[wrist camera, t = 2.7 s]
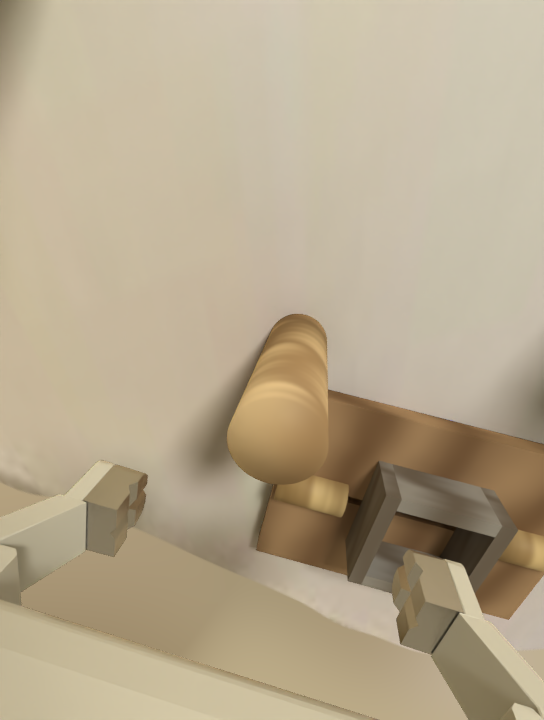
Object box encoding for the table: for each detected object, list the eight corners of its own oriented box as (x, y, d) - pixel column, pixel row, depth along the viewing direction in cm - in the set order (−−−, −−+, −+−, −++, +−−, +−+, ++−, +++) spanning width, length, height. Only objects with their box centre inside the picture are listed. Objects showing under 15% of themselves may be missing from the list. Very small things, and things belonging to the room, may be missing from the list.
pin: (264, 360, 26) (219, 470, 15) (276, 307, 24) (236, 386, 13) (318, 374, 26) (313, 495, 15) (333, 321, 24) (341, 414, 13)
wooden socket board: (259, 535, 33) (248, 588, 28) (301, 382, 26) (296, 419, 22) (500, 602, 32) (530, 668, 27) (605, 460, 25) (668, 515, 21)
